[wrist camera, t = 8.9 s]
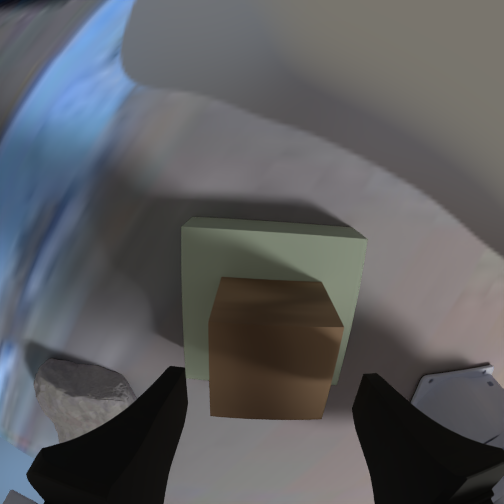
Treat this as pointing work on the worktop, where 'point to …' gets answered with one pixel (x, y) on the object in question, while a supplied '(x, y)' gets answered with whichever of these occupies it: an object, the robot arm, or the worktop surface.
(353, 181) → the worktop surface
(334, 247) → the base block
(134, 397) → the stone block
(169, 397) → the robot arm
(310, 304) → the walnut block
